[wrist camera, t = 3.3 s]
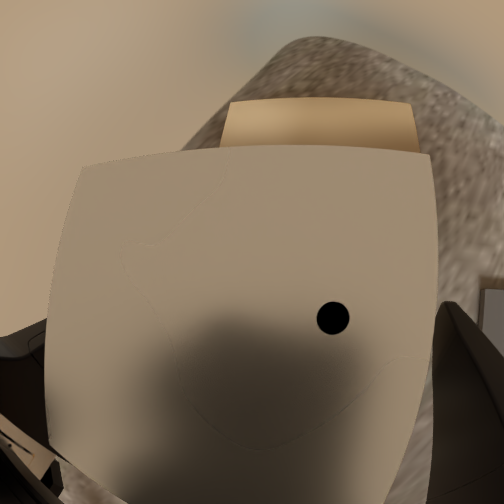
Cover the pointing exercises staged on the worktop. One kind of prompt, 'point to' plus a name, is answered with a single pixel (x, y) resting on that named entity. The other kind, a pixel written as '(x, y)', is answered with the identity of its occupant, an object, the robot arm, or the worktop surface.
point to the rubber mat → (492, 316)
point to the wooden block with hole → (321, 123)
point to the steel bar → (243, 323)
